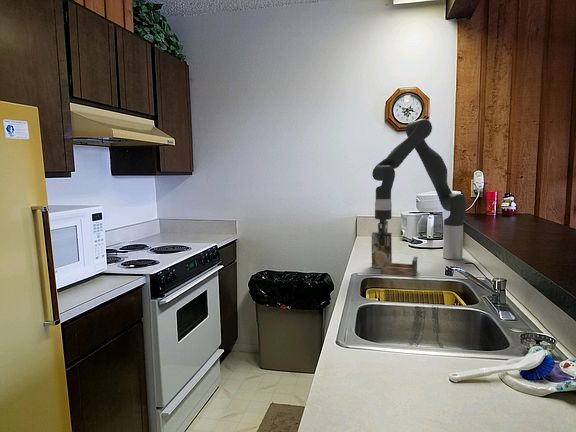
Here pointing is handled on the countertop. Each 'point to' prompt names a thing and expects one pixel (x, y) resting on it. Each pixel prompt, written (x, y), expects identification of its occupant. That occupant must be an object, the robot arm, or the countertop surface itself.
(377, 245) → the coffee box
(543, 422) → the countertop surface
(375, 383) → the countertop surface
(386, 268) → the endcap cradle
